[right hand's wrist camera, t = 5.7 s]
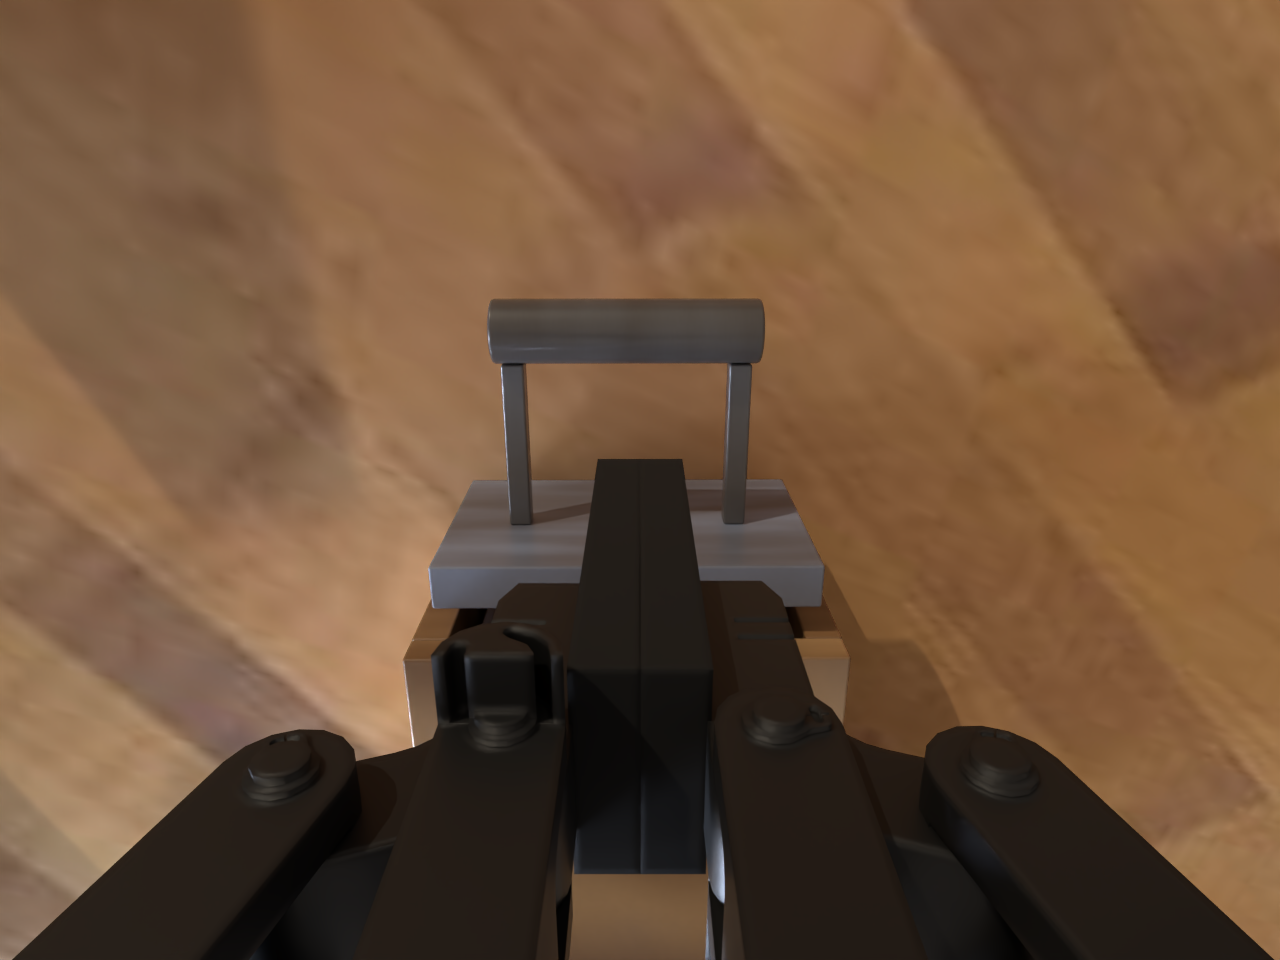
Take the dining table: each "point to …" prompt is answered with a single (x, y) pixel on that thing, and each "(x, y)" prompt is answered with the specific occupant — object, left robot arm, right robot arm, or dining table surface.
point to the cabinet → (632, 903)
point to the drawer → (559, 509)
